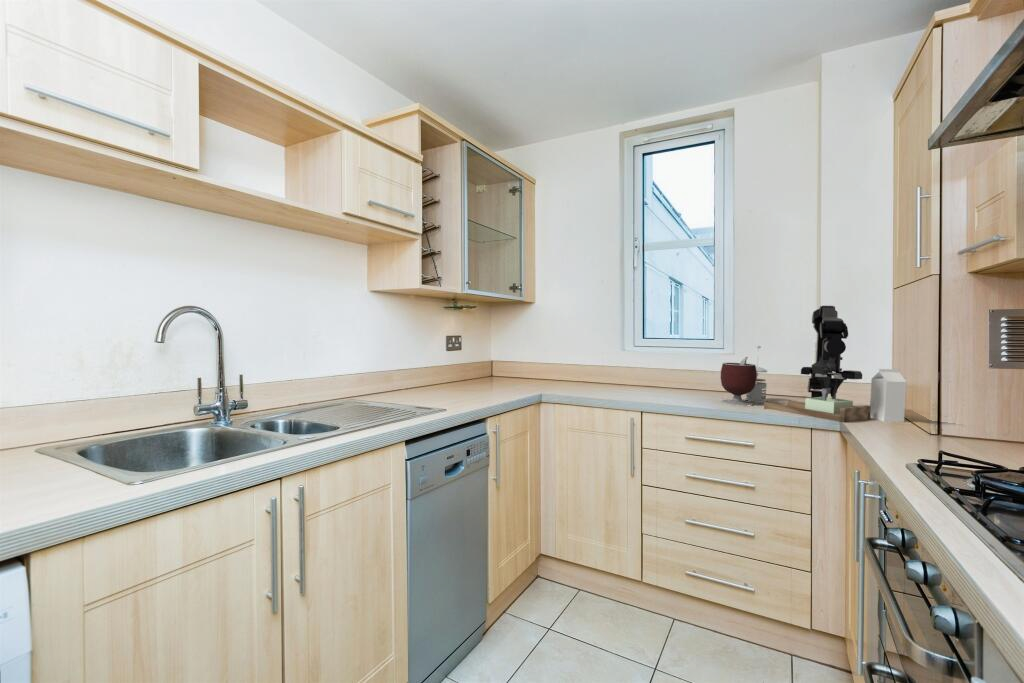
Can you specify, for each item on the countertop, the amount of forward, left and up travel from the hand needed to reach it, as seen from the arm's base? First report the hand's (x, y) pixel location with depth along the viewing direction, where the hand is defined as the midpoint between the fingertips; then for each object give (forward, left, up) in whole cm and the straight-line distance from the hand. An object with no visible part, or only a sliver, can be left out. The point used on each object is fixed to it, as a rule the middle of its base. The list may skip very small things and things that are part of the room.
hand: (829, 396), depth 175 cm
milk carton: (-14, +12, -8) cm, 20 cm away
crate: (0, 0, -7) cm, 7 cm away
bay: (0, -5, -8) cm, 9 cm away
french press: (-12, -38, -8) cm, 40 cm away
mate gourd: (+4, -35, -8) cm, 36 cm away
